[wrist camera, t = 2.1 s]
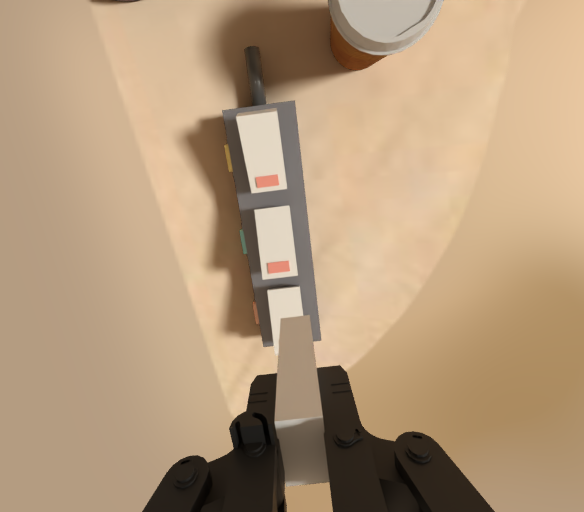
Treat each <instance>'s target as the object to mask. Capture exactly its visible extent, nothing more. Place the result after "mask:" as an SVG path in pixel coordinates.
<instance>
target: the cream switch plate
mask: <svg viewBox="0 0 584 512" xmlns="http://www.w3.org/2000/svg"><path fill="white" fill-rule="evenodd" d="M254 212H255V220H256V229H257V237H258V245H259V254H260V262H261V271H262V279H263V280H265V279H274V278H282V277H291V276H298V271H297V263H296V255H295V247H294V238H293V230H292V222H291V214H290V207H289V205H288V206H280V207H273V208H265V209H257V210H254Z"/></svg>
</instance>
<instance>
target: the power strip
mask: <svg viewBox="0 0 584 512" xmlns="http://www.w3.org/2000/svg"><path fill="white" fill-rule="evenodd" d="M244 51H245V58H246V64H247V71H248V78H249V85H250V91H251V98H252V105H253V106H251V107H244V108H237V109H229V110H222V112H223V118H224V124H225V129H226V135H227V145H224V148H225V153H226V159H227V164H228V170H229V172H233V178H234V181H235V186H236V192H237V198H238V204H239V209H240V215H241V221H242V223H241V224H242V229H240V231H239V232H240V237H241V243H242V248H243V254H247V256H248V261H249V267H250V272H251V278H252V284H253V289H254V298H255V301H253V310H254V316H255V321H256V324H259V325H260V329H261V335H262V341H263V347H268V346H274V343H273V335H272V326H271V318H270V309H269V301H268V293H267V290H268V289H274V288H283V287H291V286H300V293H301V301H302V309H303V316H305V315H310V322H311V330H312V337H313V341H321V333H320V324H319V315H318V306H317V297H316V288H315V279H314V270H313V261H312V252H311V243H310V234H309V225H308V215H307V206H306V197H305V188H304V179H303V170H302V161H301V152H300V143H299V134H298V125H297V116H296V107H295V101H288V102H281V103H273V104H266V97H265V90H264V82H263V75H262V68H261V60H260V53H259V47H256V46H250V47H247V48H245V49H244ZM273 108H277V114H278V121H279V129H280V137H281V144H282V152H283V159H284V167H285V174H286V182H287V189H283V190H275V191H267V192H260V193H251V188H250V183H249V178H248V173H247V168H246V164H245V159H244V154H243V149H242V144H241V139H240V134H239V129H238V125H237V120H236V116H237V114H238V113H244V112H251V111H258V110H266V109H273ZM288 205H289V207H290V214H291V222H292V230H293V238H294V247H295V255H296V263H297V271H298V276H291V277H282V278H274V279H265V280H263V279H262V271H261V262H260V254H259V245H258V237H257V229H256V220H255V212H254V210H257V209H265V208H273V207H280V206H288Z"/></svg>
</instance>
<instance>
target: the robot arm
mask: <svg viewBox="0 0 584 512" xmlns="http://www.w3.org/2000/svg"><path fill="white" fill-rule="evenodd" d="M115 1H136V0H115ZM229 430H230V434H231V438H232V442H233V447H234V449H233V450H232V451H231V452H229V453H228V454H227V455H225V456H223V457H221V458H218V459H216V460H214V461H211V462H209V463H207V461H206V460H205V459H204V458H203V457H200V456H198V455H197V456H188V457H186V458H183V459H181V460H179V461H178V462H177V463H175V464H174V465H173V466H172V467H171V468H170V469H169V471H168V472H167V473H166V475H165V477H164V478H163V479H162V481H161V483H160V484H159V486H158V487H157V489H156V491H155V492H154V494H153V496H152V497H151V499H150V500H149V502H148V503H147V505H146V507H145V508H144V510H143V511H142V512H287V507H286V506H287V505H286V499H285V494H284V491H285V483H286V486H296V485H306V484H316V483H326V482H330V490H331V498H332V506H333V512H495V511H494V510H493V509H492V508H491V507H490V505H489V504H488V503H487V502H486V501H485V499H484V498H483V497H482V496H481V495H480V493H479V492H478V491H477V490H476V489H475V487H474V486H473V485H472V484H471V483H470V482H469V480H468V479H467V478H466V477H465V475H464V474H463V473H462V472H461V471H460V469H459V468H458V467H457V466H456V465H455V463H454V462H453V461H452V460H451V459H450V457H449V456H448V455H447V454H446V453H445V451H444V450H443V449H442V448H441V447H440V446H439V444H438V443H437V442H435V441H434V440H433V439H432V438H431V437H429V436H427V435H425V434H423V433H419V432H405V433H403V434H401V435H400V436H399V437H398V438H397V439H396V441H395V442H394V441H390V440H384V439H380V438H377V437H375V436H373V435H371V434H370V433H368V432H367V431H366V430H365V429H364V427H363V426H362V424H361V422H360V419H359V415H358V412H357V408H356V404H355V401H354V397H353V393H352V390H351V386H350V382H349V379H348V375H347V372H346V371H345V370H344V369H343V368H342V367H341V366H340V365H339V366H330V367H321V368H316V360H315V353H314V345H313V337H312V330H311V322H310V315H305V316H297V317H288V318H281V320H280V337H279V353H278V370H277V373H275V374H266V375H257V377H256V378H255V379H254V381H253V382H252V384H251V387H250V393H249V399H248V404H247V410H246V411H245V412H244V413H242V414H240V415H238V416H237V417H236V418H235V419H234V420H233V421H232V423H231V426H230V428H229Z"/></svg>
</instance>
